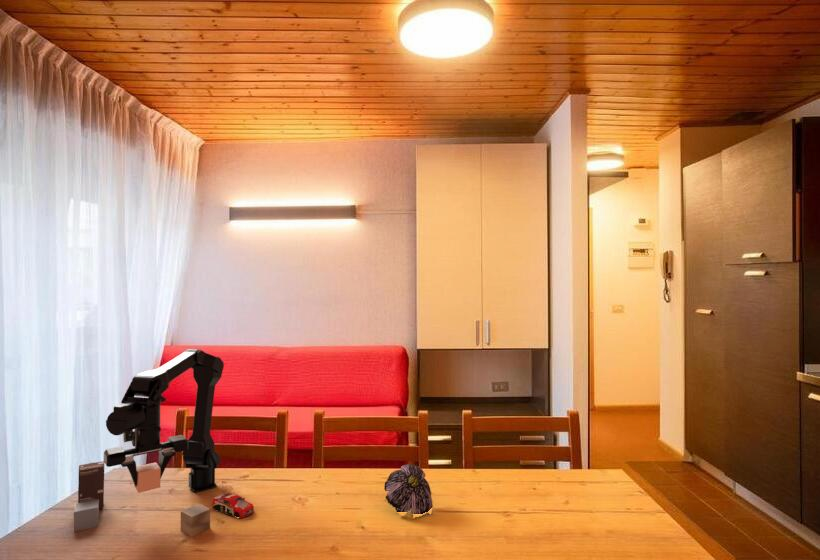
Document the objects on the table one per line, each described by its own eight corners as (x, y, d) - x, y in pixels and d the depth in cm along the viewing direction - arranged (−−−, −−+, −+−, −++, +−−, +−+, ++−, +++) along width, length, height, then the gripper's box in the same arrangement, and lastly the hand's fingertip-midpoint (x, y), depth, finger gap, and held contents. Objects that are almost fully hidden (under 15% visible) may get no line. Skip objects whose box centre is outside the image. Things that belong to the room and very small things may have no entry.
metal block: (199, 522, 125) (199, 503, 125) (210, 528, 122) (210, 508, 122) (180, 530, 121) (180, 511, 120) (191, 537, 118) (191, 517, 118)
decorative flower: (386, 487, 125) (393, 450, 139) (375, 520, 128) (383, 481, 143) (439, 502, 125) (440, 464, 139) (427, 535, 128) (429, 495, 143)
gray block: (98, 517, 126) (98, 499, 126) (97, 526, 122) (97, 507, 122) (75, 522, 124) (75, 503, 124) (73, 531, 119) (73, 512, 119)
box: (77, 514, 127) (78, 470, 127) (78, 507, 131) (78, 464, 131) (104, 509, 131) (104, 465, 131) (104, 502, 135) (104, 460, 134)
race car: (257, 513, 130) (258, 498, 130) (242, 522, 125) (242, 507, 125) (225, 501, 137) (225, 487, 137) (209, 509, 132) (209, 494, 132)
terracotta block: (155, 480, 126) (155, 462, 126) (160, 487, 123) (160, 468, 122) (134, 486, 123) (134, 466, 123) (138, 492, 119) (138, 473, 119)
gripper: (178, 409, 135) (177, 464, 135) (100, 422, 123) (100, 481, 123) (189, 418, 126) (189, 477, 127) (107, 433, 114) (107, 497, 114)
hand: (147, 482), depth 123 cm, fingers closed on terracotta block, 5 cm apart
